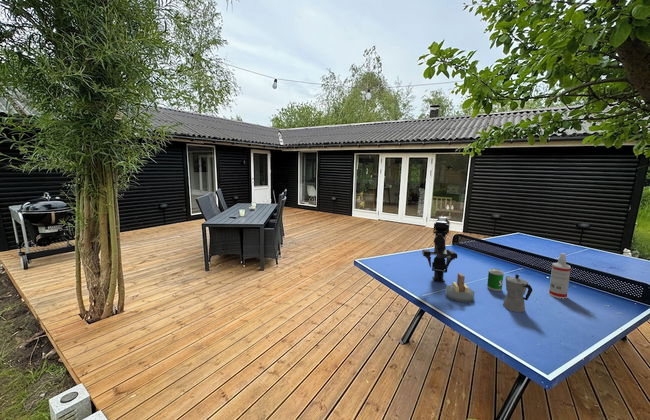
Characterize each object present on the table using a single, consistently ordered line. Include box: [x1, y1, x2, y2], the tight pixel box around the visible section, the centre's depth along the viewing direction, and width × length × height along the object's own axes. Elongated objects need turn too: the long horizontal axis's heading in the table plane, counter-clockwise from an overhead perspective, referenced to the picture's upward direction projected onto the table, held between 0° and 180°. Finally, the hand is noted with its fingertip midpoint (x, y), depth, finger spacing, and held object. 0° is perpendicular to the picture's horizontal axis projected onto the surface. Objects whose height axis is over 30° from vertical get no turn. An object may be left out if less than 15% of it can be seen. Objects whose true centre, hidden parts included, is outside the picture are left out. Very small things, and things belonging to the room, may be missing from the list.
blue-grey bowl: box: [445, 281, 475, 303], centre depth 145 cm, size 14×14×7 cm
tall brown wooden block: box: [456, 272, 466, 292], centre depth 144 cm, size 5×2×9 cm, turn 169°
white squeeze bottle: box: [548, 252, 572, 300], centre depth 145 cm, size 8×8×25 cm
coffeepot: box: [502, 274, 533, 313], centre depth 131 cm, size 15×9×18 cm, turn 6°
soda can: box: [486, 268, 505, 292], centre depth 154 cm, size 8×8×12 cm
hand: (438, 267), depth 154 cm, fingers open, 9 cm apart
